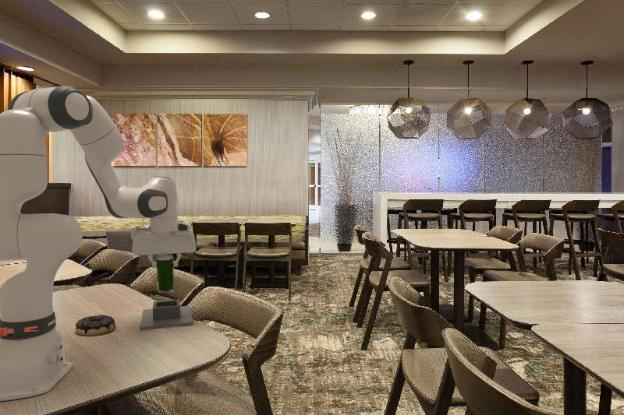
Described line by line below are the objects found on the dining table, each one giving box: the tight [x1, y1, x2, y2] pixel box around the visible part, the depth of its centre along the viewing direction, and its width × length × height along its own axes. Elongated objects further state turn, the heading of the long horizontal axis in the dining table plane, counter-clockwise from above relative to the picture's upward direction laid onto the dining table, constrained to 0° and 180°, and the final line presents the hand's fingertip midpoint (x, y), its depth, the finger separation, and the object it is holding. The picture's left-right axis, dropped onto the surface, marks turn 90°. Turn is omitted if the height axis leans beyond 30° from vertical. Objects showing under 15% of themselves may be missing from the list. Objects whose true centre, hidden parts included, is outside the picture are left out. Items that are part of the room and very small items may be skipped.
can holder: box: [139, 299, 194, 331], centre depth 162 cm, size 20×16×5 cm
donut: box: [75, 314, 116, 336], centre depth 150 cm, size 11×12×4 cm
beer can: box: [156, 254, 175, 294], centre depth 161 cm, size 5×5×12 cm
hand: (165, 267), depth 161 cm, fingers closed on beer can, 5 cm apart
